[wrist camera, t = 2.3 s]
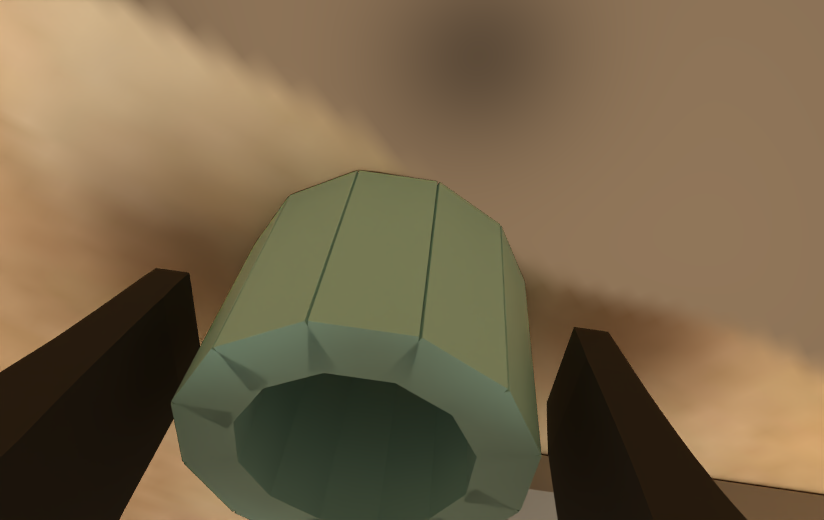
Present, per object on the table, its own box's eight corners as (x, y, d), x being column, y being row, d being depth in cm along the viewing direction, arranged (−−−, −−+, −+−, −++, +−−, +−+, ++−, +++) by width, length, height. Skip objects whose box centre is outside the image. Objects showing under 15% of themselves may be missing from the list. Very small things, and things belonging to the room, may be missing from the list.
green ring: (261, 365, 14) (196, 528, 11) (248, 154, 11) (149, 298, 8) (493, 398, 14) (496, 572, 11) (549, 196, 11) (579, 359, 7)
